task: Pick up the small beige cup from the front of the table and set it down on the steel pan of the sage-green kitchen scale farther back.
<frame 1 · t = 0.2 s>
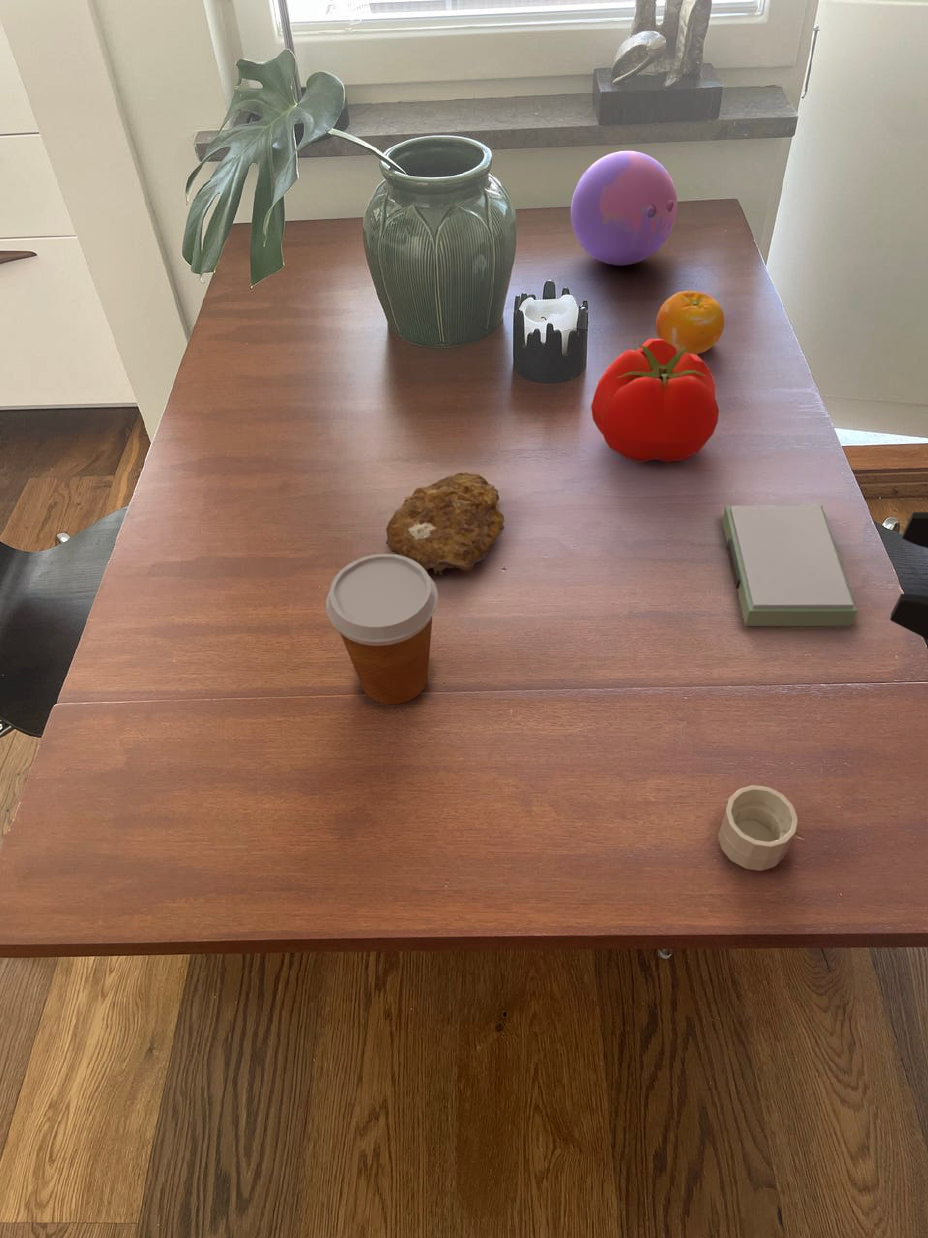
hand: (901, 564, 61), 23 cm above the table, tool horizontal, fingers open, 7 cm apart
small beige cup: (750, 843, 73), on the table
disposable coffee cup: (394, 679, 86), on the table
decorative rock: (450, 534, 99), on the table
tomato: (649, 446, 108), on the table
scale: (782, 570, 93), on the table
decorative ball: (619, 260, 138), on the table
fruit: (686, 347, 122), on the table
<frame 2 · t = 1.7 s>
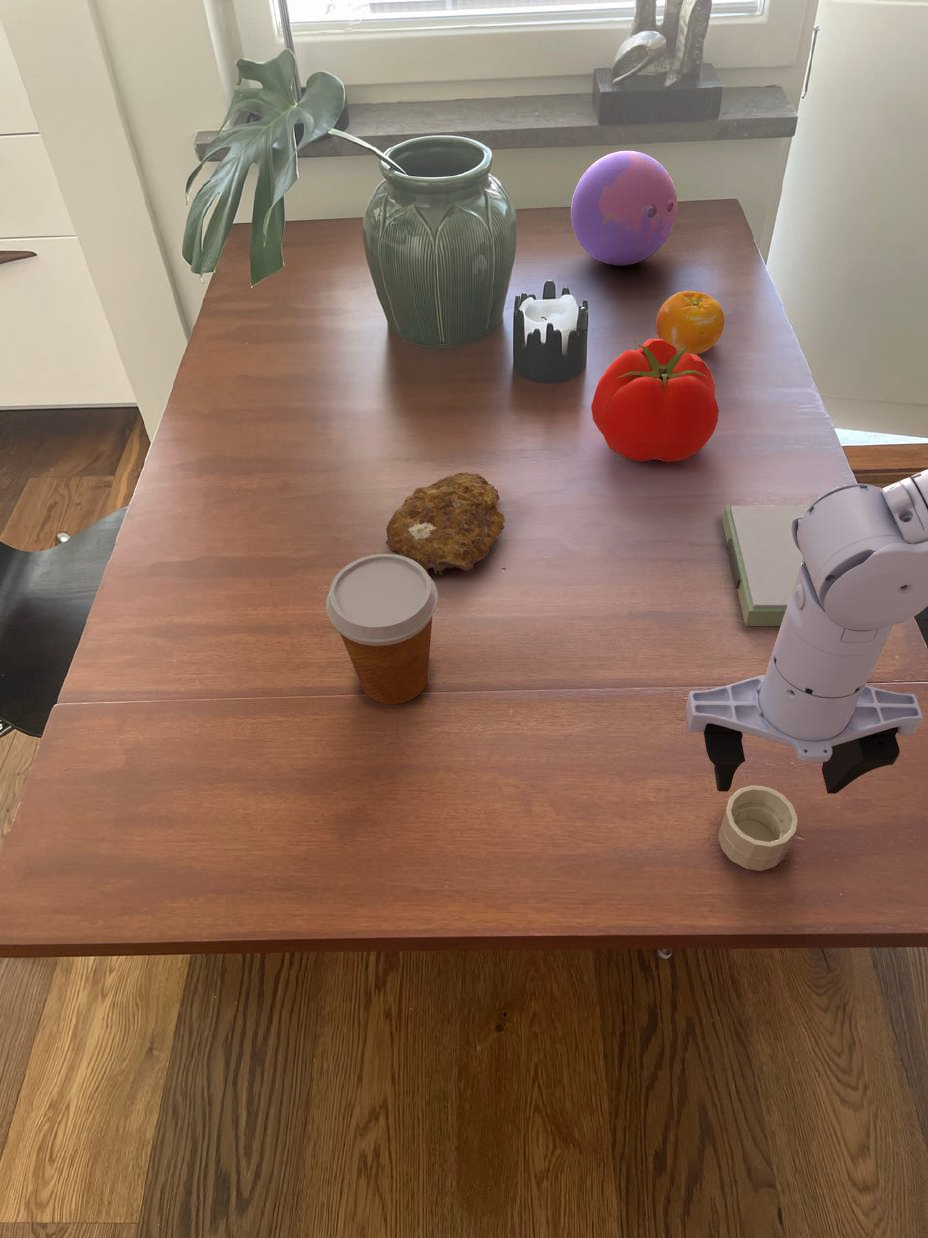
hand: (774, 780, 66), 9 cm above the table, tool pointing down, fingers open, 7 cm apart
nothing on the table moved.
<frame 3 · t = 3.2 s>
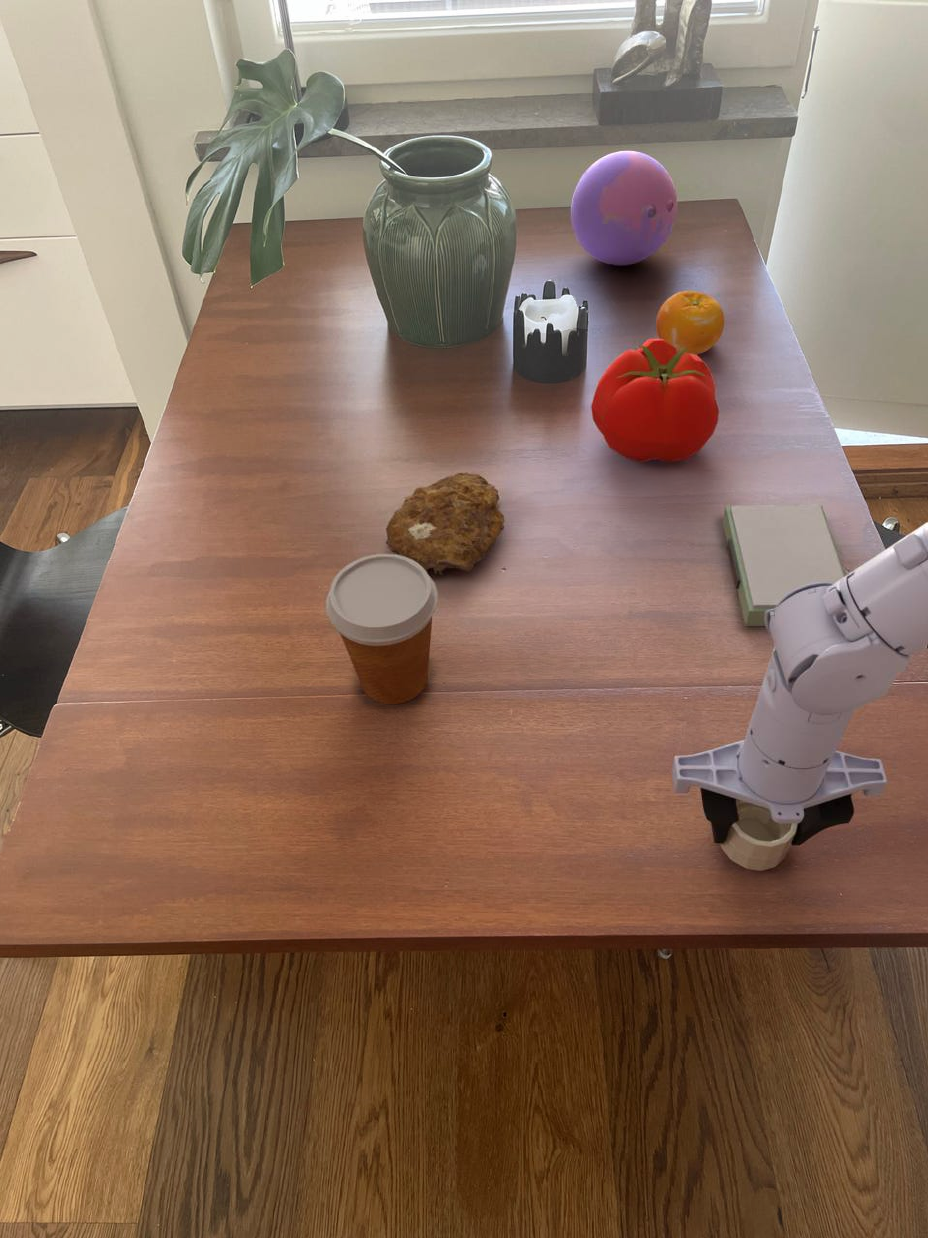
hand: (754, 833, 72), 2 cm above the table, tool pointing down, fingers closed on small beige cup, 5 cm apart
small beige cup: (751, 843, 73), on the table, touching gripper
everything else where it was.
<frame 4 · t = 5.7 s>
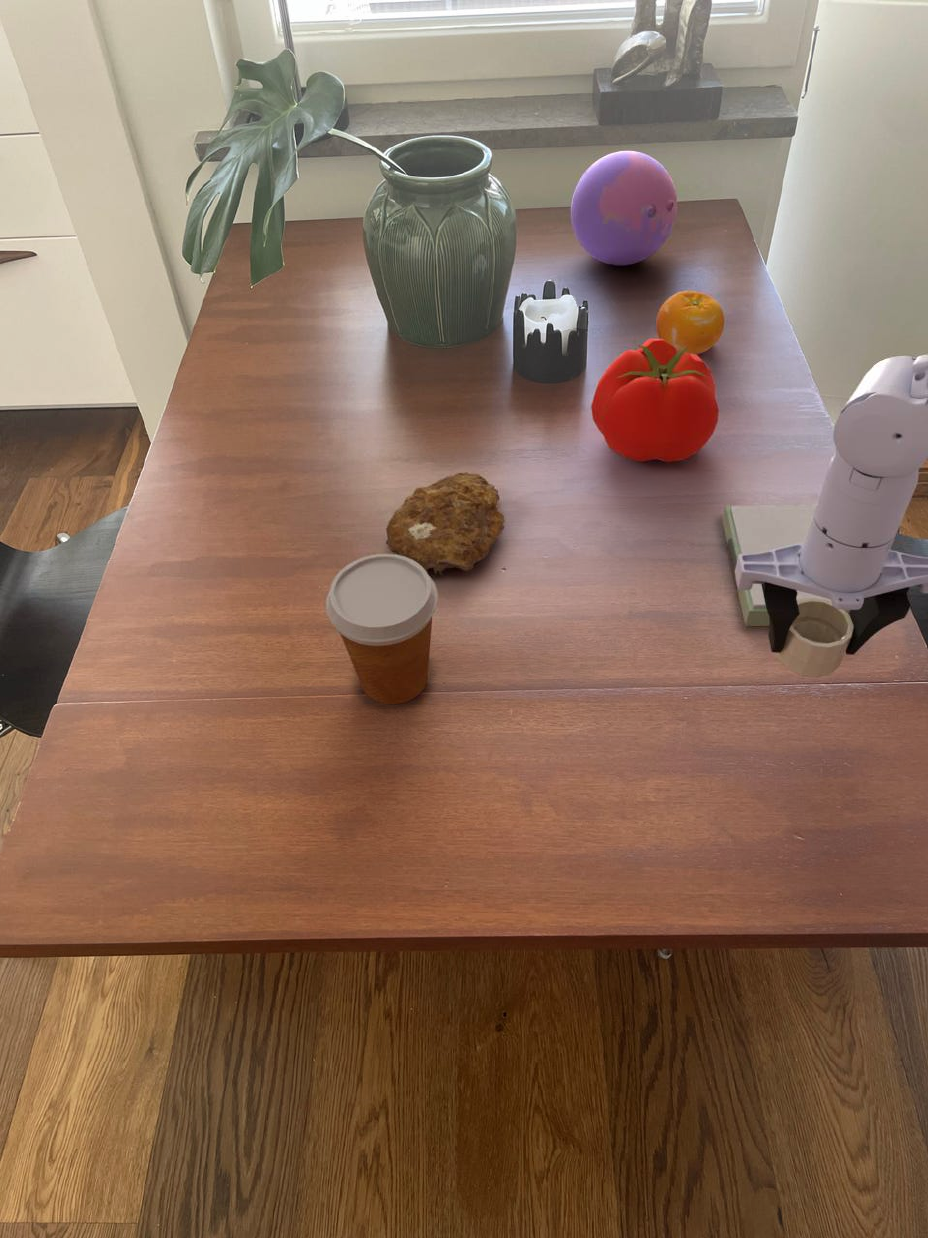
hand: (810, 644, 76), 9 cm above the table, tool pointing down, fingers closed on small beige cup, 5 cm apart
small beige cup: (806, 656, 77), point 7 cm above the table, touching gripper
everything else where it was.
when the fingers open (4 cm above the table, at t = 8.5 s): small beige cup stays where it is, resting on scale.
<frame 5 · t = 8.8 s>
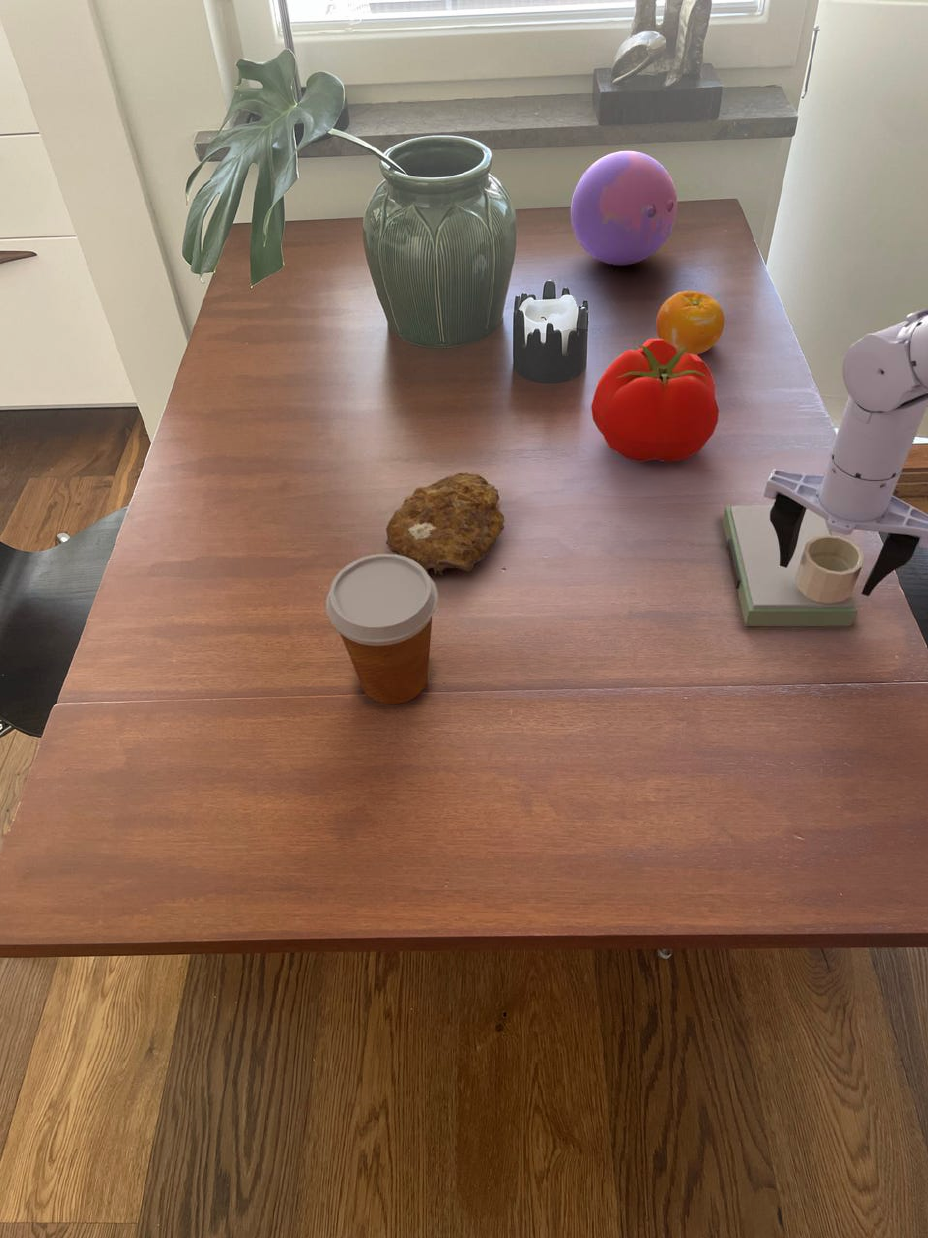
hand: (826, 574, 87), 4 cm above the table, tool pointing down, fingers open, 7 cm apart
small beige cup: (822, 587, 88), point 3 cm above the table, touching scale
everything else where it was.
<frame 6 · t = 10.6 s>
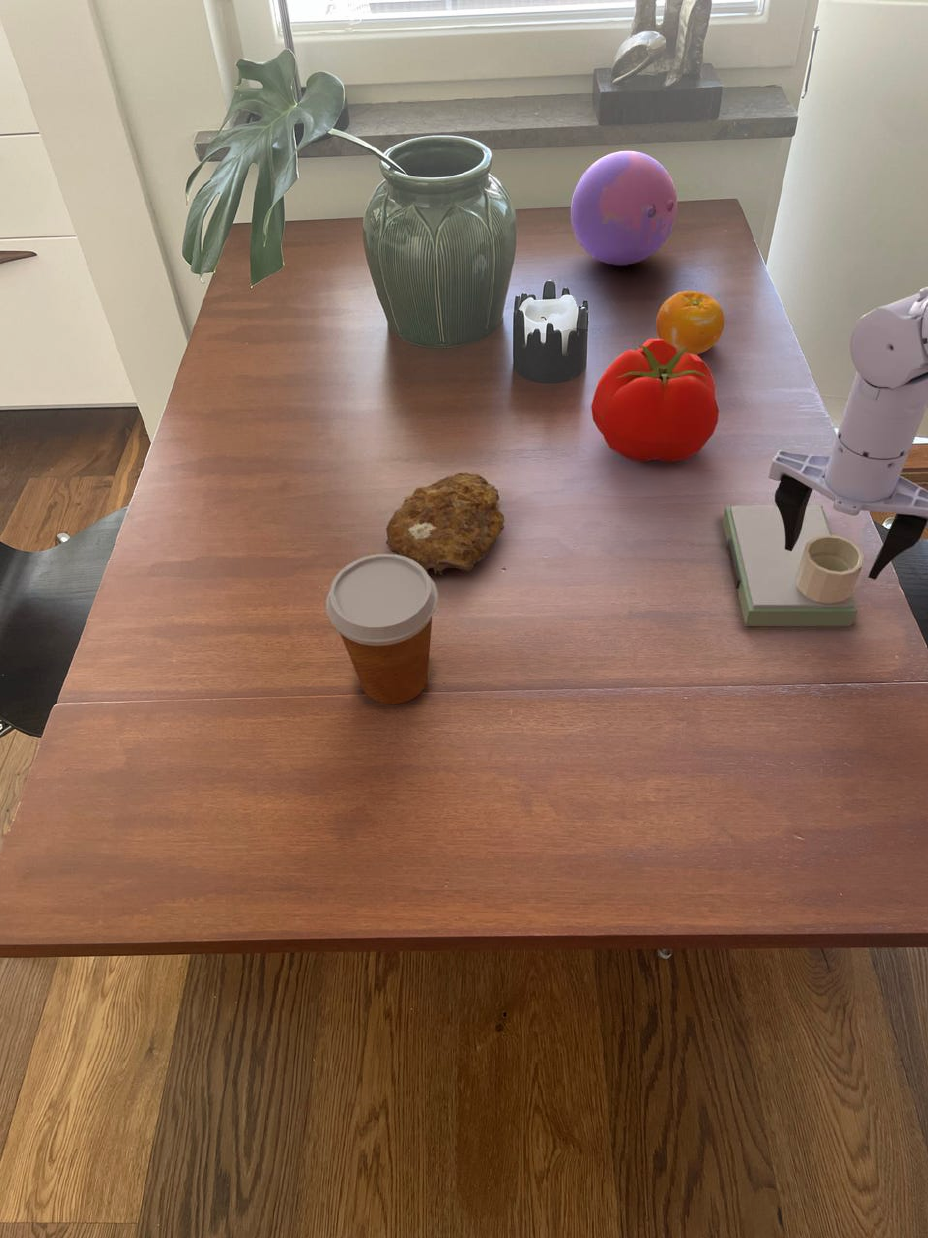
hand: (832, 557, 85), 7 cm above the table, tool pointing down, fingers open, 7 cm apart
nothing on the table moved.
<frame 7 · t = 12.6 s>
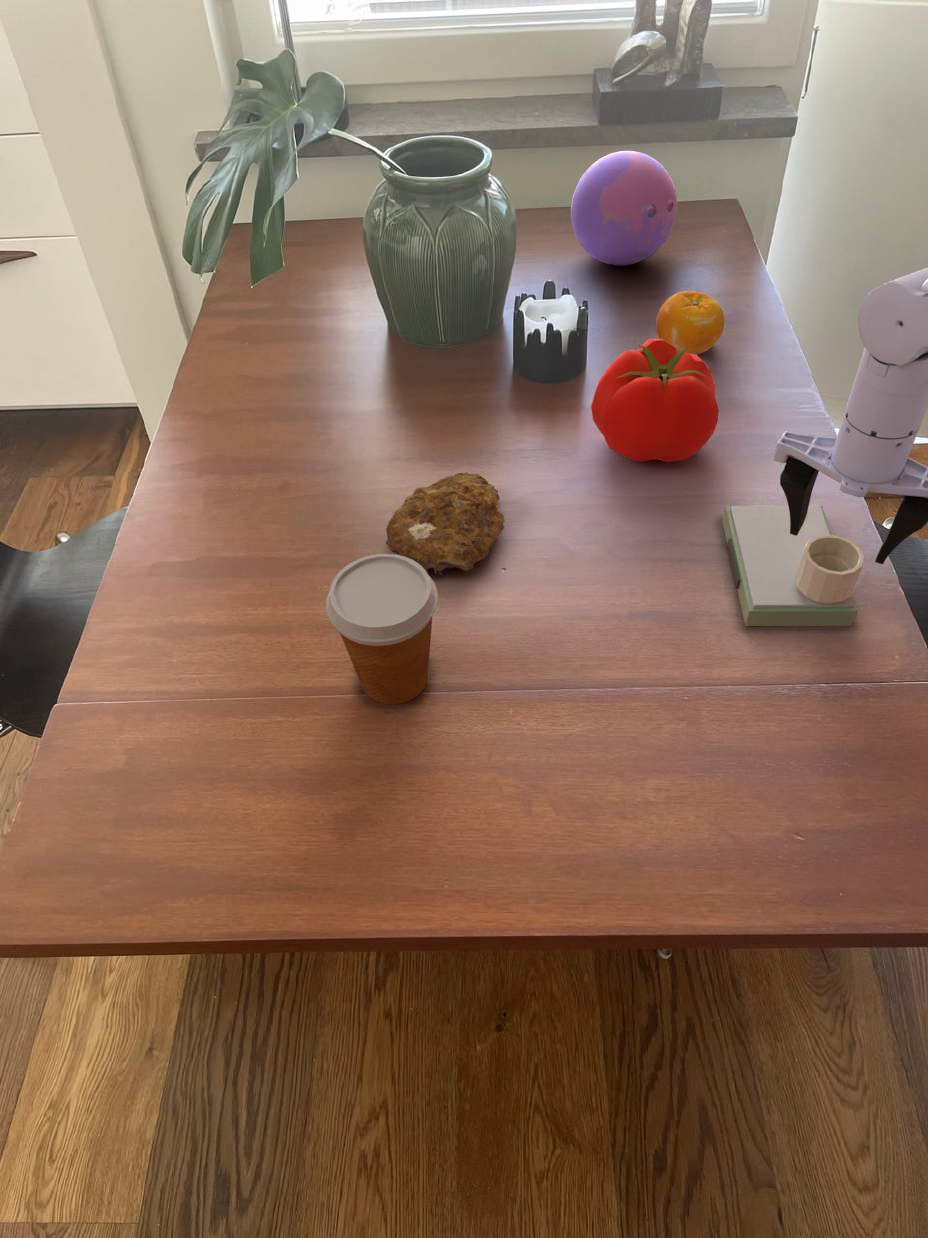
hand: (838, 542, 83), 9 cm above the table, tool pointing down, fingers open, 7 cm apart
nothing on the table moved.
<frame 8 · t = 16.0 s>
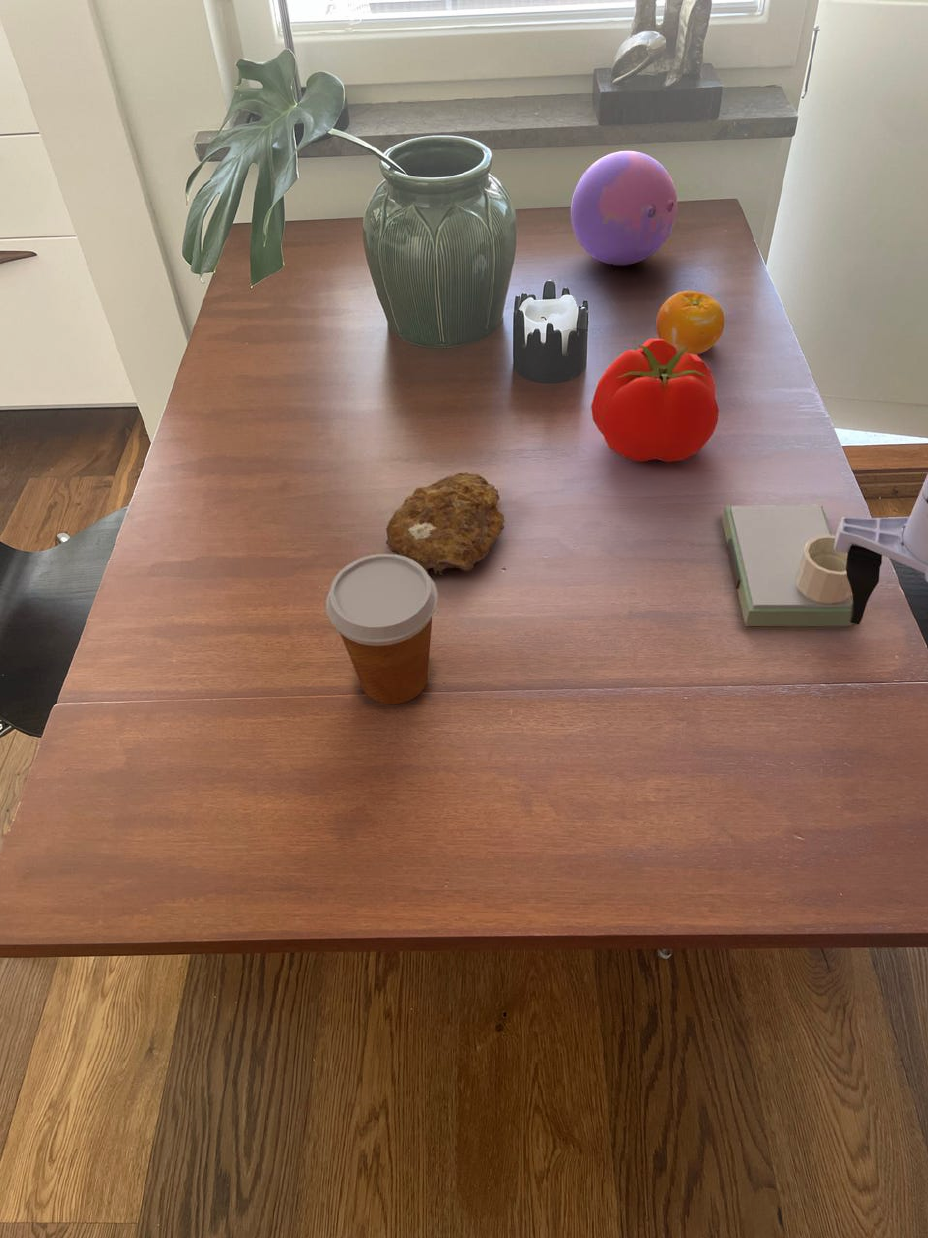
hand: (904, 625, 75), 10 cm above the table, tool pointing down, fingers open, 7 cm apart
nothing on the table moved.
at the end: small beige cup inside the target area on the scale (0.4 cm from its centre), point 2.6 cm above the scale's base; small beige cup tilted 0°; the gripper is holding nothing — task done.
